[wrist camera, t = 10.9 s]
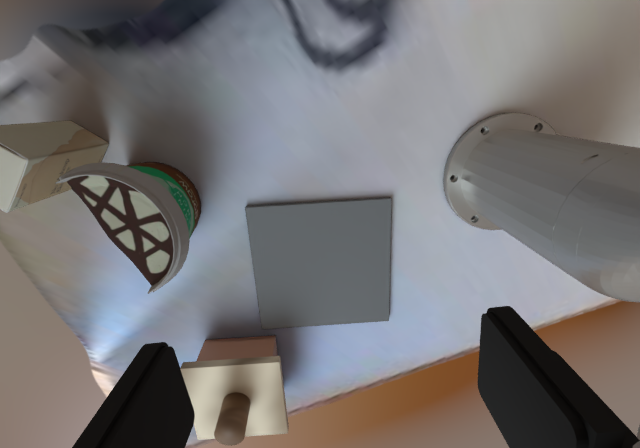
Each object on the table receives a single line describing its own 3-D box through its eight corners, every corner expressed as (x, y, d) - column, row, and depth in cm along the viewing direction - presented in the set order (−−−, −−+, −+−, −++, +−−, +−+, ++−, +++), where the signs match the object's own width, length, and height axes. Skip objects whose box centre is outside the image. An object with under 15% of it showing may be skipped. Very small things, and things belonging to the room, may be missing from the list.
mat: (390, 197, 38) (391, 198, 37) (387, 317, 43) (388, 320, 43) (246, 206, 38) (245, 208, 37) (262, 326, 43) (261, 329, 43)
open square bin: (275, 335, 44) (271, 363, 39) (281, 388, 47) (279, 421, 42) (205, 339, 44) (192, 369, 39) (216, 393, 47) (206, 426, 42)
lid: (280, 355, 39) (276, 391, 34) (288, 425, 43) (286, 466, 38) (183, 362, 39) (165, 399, 34) (200, 432, 42) (187, 473, 38)
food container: (234, 226, 38) (210, 268, 29) (188, 250, 39) (151, 298, 30) (167, 126, 34) (115, 137, 25) (118, 155, 35) (50, 176, 26)
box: (92, 183, 36) (5, 217, 26) (51, 161, 35) (-56, 187, 25) (111, 140, 35) (27, 159, 24) (69, 116, 34) (-37, 125, 23)
